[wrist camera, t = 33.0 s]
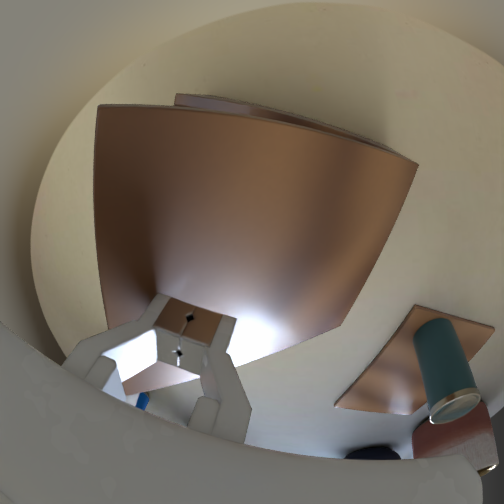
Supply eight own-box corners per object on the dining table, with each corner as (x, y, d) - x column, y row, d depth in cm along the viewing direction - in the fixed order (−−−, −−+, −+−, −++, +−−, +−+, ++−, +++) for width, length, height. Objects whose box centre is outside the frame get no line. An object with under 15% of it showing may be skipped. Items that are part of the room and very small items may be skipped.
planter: (450, 435, 42) (457, 488, 29) (395, 439, 43) (397, 502, 30) (499, 395, 33) (515, 455, 19) (446, 398, 34) (459, 474, 21)
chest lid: (122, 384, 13) (125, 396, 12) (97, 104, 6) (98, 107, 5) (334, 319, 22) (340, 325, 21) (409, 159, 15) (419, 164, 14)
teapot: (419, 447, 46) (422, 488, 35) (374, 466, 54) (374, 503, 43) (354, 434, 43) (352, 488, 33) (306, 454, 51) (300, 499, 41)
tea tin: (429, 312, 26) (457, 392, 16) (461, 321, 26) (490, 393, 16) (403, 346, 29) (418, 424, 20) (435, 353, 29) (454, 423, 19)
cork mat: (414, 304, 26) (416, 307, 26) (494, 327, 26) (495, 330, 25) (333, 403, 38) (333, 406, 37) (410, 412, 37) (411, 414, 37)
